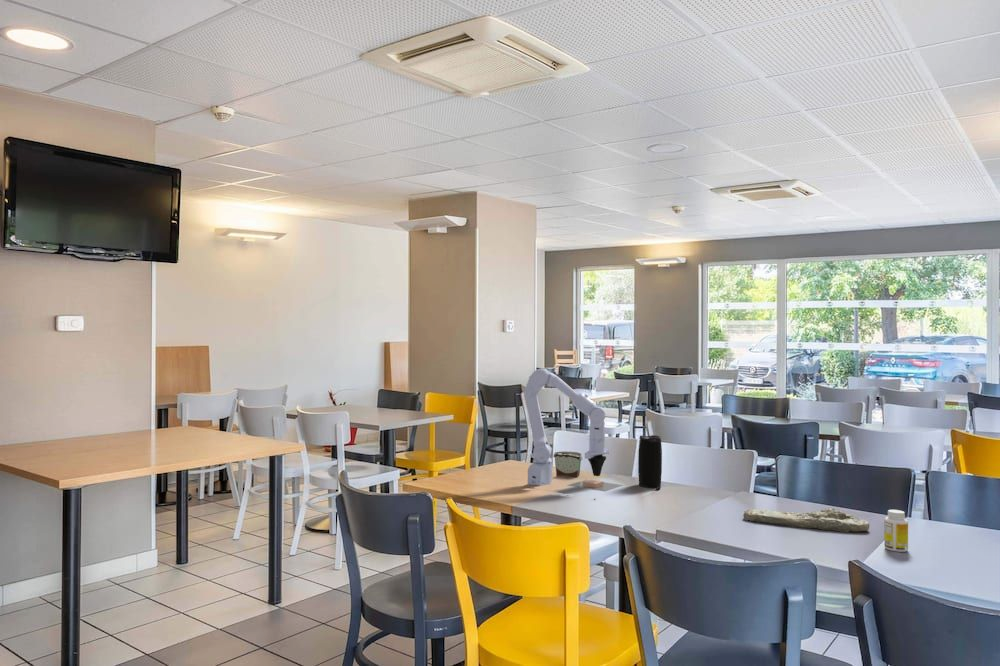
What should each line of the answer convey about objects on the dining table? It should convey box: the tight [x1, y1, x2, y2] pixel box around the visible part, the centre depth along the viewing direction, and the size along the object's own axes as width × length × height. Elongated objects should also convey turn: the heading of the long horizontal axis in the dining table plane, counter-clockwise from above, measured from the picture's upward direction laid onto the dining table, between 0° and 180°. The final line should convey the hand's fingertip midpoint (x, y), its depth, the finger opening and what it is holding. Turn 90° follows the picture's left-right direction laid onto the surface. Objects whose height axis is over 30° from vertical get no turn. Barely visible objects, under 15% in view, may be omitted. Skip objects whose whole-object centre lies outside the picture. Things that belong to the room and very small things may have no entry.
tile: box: [583, 479, 605, 488], centre depth 263 cm, size 2×6×6 cm
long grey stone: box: [742, 507, 870, 533], centre depth 215 cm, size 35×5×10 cm
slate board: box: [566, 479, 624, 492], centre depth 264 cm, size 14×16×1 cm
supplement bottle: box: [883, 509, 909, 553], centre depth 190 cm, size 6×6×10 cm
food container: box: [553, 450, 584, 478], centre depth 284 cm, size 12×6×10 cm, turn 58°
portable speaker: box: [637, 434, 663, 492], centre depth 264 cm, size 9×9×20 cm
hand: (596, 475), depth 265 cm, fingers closed
